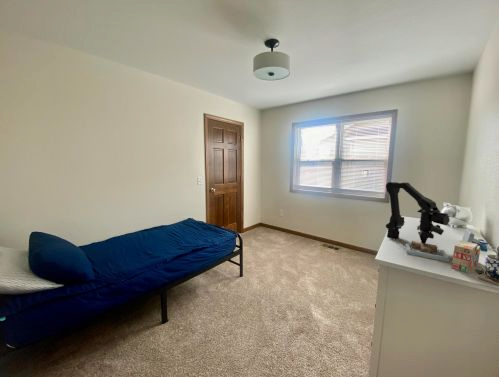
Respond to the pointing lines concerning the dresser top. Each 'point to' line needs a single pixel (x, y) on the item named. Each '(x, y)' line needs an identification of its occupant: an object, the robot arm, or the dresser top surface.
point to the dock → (442, 252)
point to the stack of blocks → (465, 256)
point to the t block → (424, 247)
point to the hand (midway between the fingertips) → (423, 244)
